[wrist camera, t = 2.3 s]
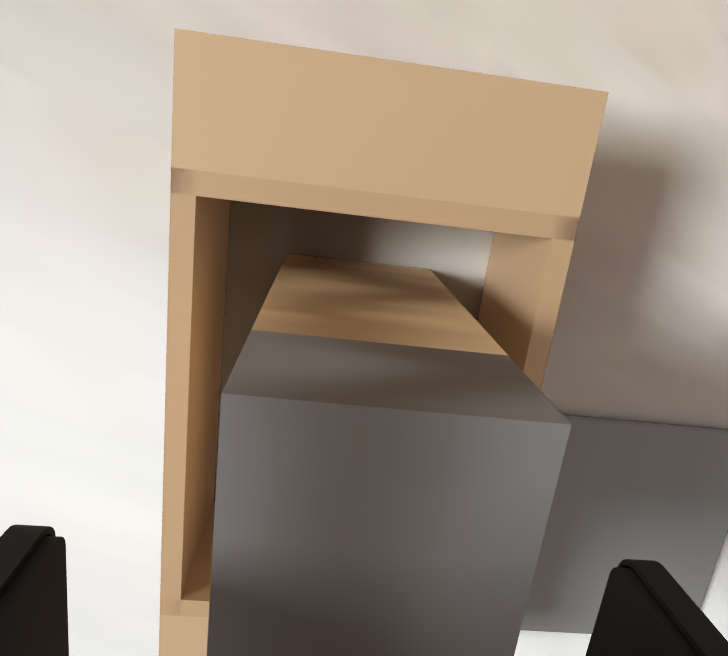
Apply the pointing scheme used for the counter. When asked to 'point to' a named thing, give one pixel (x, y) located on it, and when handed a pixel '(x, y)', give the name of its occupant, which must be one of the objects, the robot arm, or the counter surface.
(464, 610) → the block
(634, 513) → the mat
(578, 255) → the counter surface
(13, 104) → the counter surface
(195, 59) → the carton
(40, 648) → the robot arm
